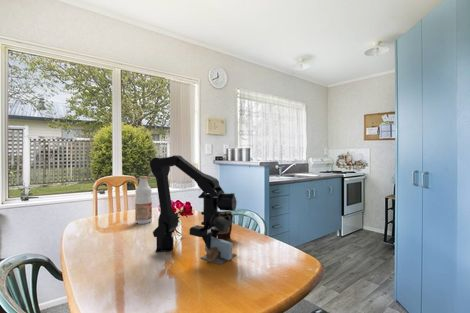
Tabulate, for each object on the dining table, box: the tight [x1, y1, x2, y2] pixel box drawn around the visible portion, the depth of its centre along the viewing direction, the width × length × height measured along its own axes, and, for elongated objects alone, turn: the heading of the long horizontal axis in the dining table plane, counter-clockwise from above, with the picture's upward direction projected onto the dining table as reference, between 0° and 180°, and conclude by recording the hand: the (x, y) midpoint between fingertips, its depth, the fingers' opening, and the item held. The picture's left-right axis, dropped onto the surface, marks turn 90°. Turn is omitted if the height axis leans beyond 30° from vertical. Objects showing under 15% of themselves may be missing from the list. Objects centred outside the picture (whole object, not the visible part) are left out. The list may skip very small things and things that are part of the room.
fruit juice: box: [134, 175, 153, 225], centre depth 149 cm, size 9×9×28 cm
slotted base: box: [200, 241, 237, 265], centre depth 97 cm, size 12×10×4 cm
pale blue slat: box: [204, 236, 234, 261], centre depth 97 cm, size 12×2×6 cm, turn 55°
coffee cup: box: [217, 210, 234, 242], centre depth 118 cm, size 9×8×13 cm
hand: (210, 247), depth 99 cm, fingers closed on pale blue slat, 2 cm apart
